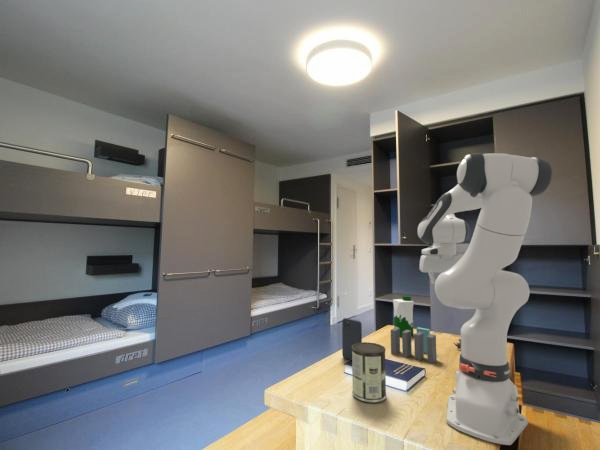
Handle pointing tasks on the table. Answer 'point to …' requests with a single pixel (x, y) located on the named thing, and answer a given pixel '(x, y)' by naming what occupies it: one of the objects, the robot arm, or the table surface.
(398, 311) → the milk carton
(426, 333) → the domino
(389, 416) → the table surface
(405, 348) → the domino
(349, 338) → the phone case
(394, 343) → the domino
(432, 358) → the domino
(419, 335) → the domino
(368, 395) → the coffee can
